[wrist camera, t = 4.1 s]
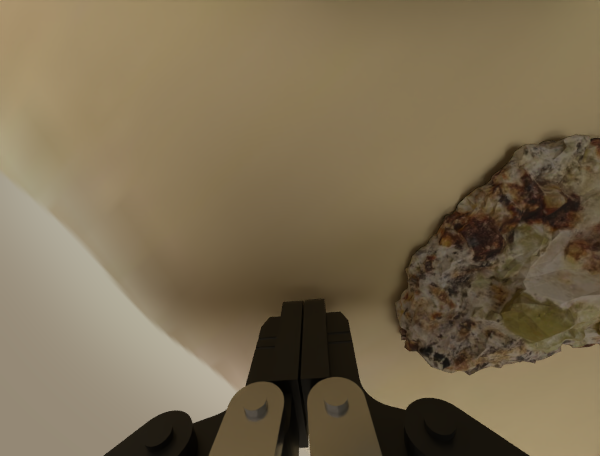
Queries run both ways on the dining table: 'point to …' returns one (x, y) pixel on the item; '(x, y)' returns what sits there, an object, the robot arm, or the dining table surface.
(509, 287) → the mineral rock
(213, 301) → the dining table surface
